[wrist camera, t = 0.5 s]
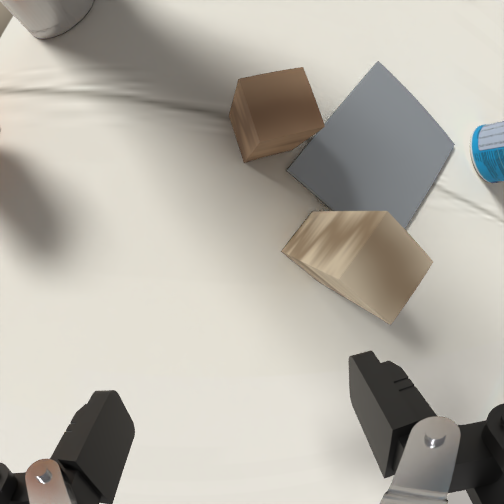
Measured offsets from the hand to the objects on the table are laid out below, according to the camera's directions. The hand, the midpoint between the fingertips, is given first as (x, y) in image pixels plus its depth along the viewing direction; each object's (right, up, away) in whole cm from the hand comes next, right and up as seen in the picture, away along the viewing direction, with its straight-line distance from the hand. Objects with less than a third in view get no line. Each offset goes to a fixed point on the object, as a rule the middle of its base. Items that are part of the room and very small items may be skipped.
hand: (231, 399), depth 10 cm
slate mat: (+15, +16, +22) cm, 31 cm away
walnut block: (+2, +16, +20) cm, 26 cm away
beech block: (+7, +5, +22) cm, 24 cm away
